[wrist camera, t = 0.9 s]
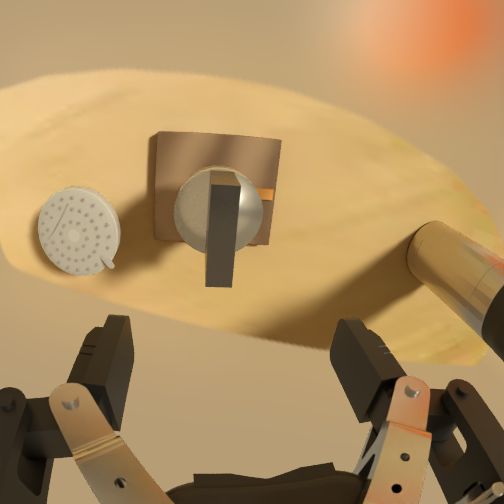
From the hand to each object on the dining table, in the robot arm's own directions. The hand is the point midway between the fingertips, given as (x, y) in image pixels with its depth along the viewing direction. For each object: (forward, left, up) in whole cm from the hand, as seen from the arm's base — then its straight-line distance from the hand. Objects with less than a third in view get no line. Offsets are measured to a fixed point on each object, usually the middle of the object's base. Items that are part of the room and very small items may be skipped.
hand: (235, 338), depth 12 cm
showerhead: (+14, +4, -26) cm, 30 cm away
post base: (0, 0, -26) cm, 26 cm away
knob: (0, 0, -18) cm, 18 cm away
